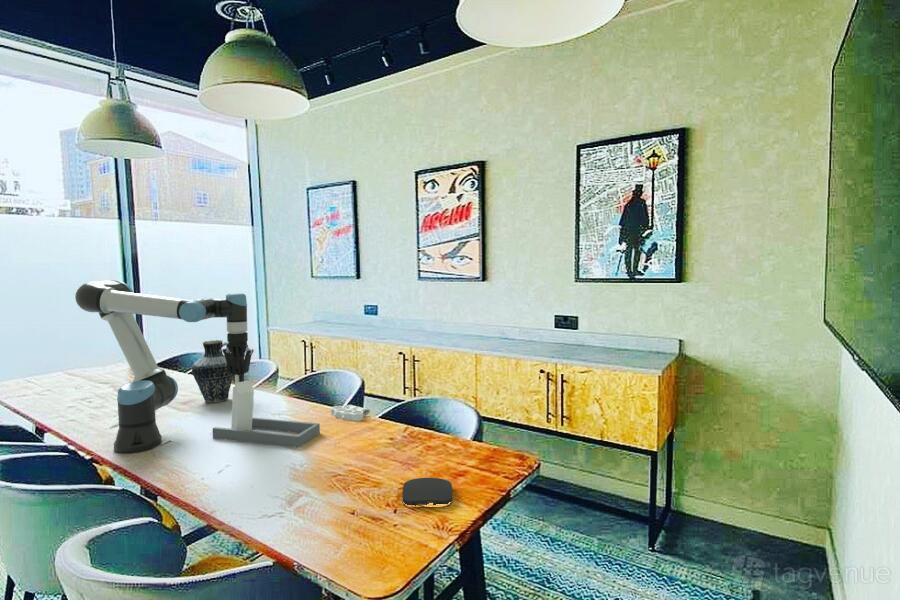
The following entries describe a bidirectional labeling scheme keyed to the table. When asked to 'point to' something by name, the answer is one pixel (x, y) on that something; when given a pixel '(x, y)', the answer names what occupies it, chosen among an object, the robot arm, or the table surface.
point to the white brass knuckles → (349, 412)
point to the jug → (213, 372)
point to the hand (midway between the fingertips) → (239, 390)
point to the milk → (242, 406)
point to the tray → (271, 438)
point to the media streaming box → (427, 491)
